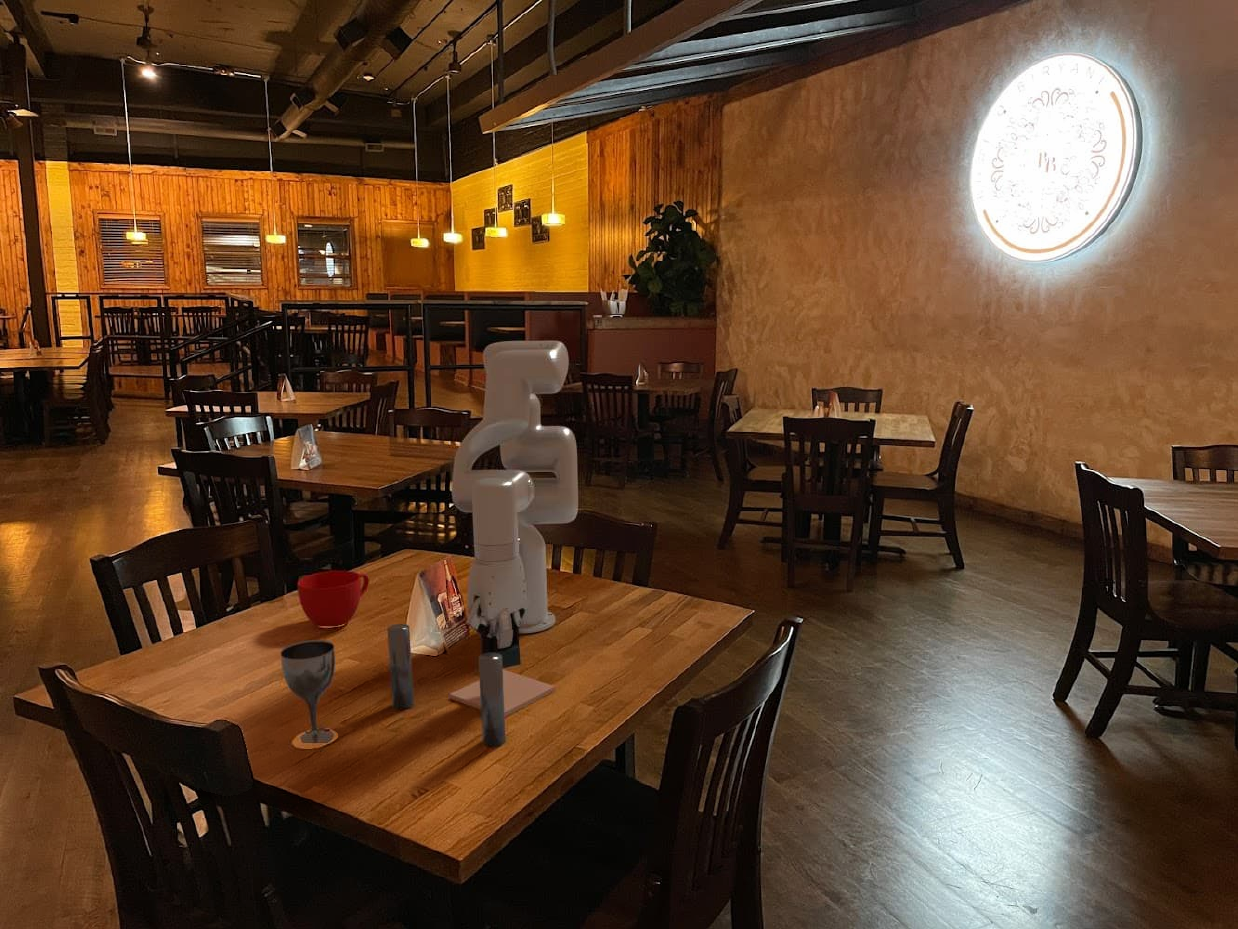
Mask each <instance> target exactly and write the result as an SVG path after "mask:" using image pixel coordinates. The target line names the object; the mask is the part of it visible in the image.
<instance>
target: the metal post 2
mask: <svg viewBox="0 0 1238 929" xmlns="http://www.w3.org/2000/svg"><path fill="white" fill-rule="evenodd" d="M503 669H504V668H503V665H502V655H501V654H499V653H485V654H482V653H481V654H480V655H479V656H478V673H479V674H478V676H479V680H480V698H481V710H480V715H481V732H482V733H481V738H482V744H483V746H485V747H488V748H495V747H496V748H497V747H501V746H503V745H504V744H505V743H506V742H507V740H506V739H507V738H506V737H507V736H506V735H507V734H506V717H505V710H504V688H503ZM502 744H503V745H502Z"/></svg>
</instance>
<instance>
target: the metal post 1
mask: <svg viewBox="0 0 1238 929" xmlns="http://www.w3.org/2000/svg"><path fill="white" fill-rule="evenodd" d="M386 631H387V643H388V660H389V673H390V686H391V699H392V708H393V709H395V710H398V711H403V710H408V709H411V708H413V707H414V706H415V692H414V680H413V679H414V678H413V665H412V650H411V636H410V625H409V624H407V623H396V624H392V625H390V626H388V627H387V628H386Z"/></svg>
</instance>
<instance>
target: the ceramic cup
mask: <svg viewBox="0 0 1238 929" xmlns="http://www.w3.org/2000/svg"><path fill="white" fill-rule="evenodd" d="M361 578H363V584H362V583H361ZM369 582H370V578H369V576H368V575H367V574H365V573H363V572H362V573H358V572H354V571H352V570H351V571H350V570H328V571H323V572H322V571H321V572H317V573H313V574H309V575H307V576H303V577H302V578H301V579H298V581H297V593H298V598H299V602H300V606H301V608H302V610H303V613H304V615H305V616H306V617H307V618H308V619H309V621H310V622H311V623H312V624H314V625H315V626H316V625H317V626H338V625H342V624H345V623H347V622H348V621H350V620H351V619H352V618H353V617H354V615H355V613H356V612H357V610H358V607H359V604H360V601H361V600H360V599H361V597H362V596H363V595H364V594H365V593H366V591H367V589H368V588H369ZM361 584H362V586H361ZM348 623H349V622H348ZM348 623H347V624H348ZM317 626H316V627H317Z"/></svg>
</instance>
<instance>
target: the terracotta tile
mask: <svg viewBox="0 0 1238 929" xmlns="http://www.w3.org/2000/svg"><path fill="white" fill-rule="evenodd" d="M503 688H504V710H505V718H506V717H508V716H510V715H511V714H513V713H516V712H518V711H520V710H521V709H523V708H525V707H527V706H529V705H531V704H533V703H535V702H536V701H538V700H541V699H542V698H543V697H546V696H549V695H550V694H551V693H553V692H555V691H556V686H555V685H553V684H549V683H546V682H542V681H540V680H537V679H534V678H531V677H527V676H525V675H522V674H519V673H515V672H513V671H509V670H506V669H505V668H503ZM449 699H450V700H453V701H456V702H458V703H462V704H464V705H467V706H470V707H473V708H475V709H478V710H480V711H481V698H480V679H479V680H476V681H475V682H473V683H470V684H468V685H467V686H464V687H462V688H460V689H457V690H455V691H453V692H451V693H449Z"/></svg>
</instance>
